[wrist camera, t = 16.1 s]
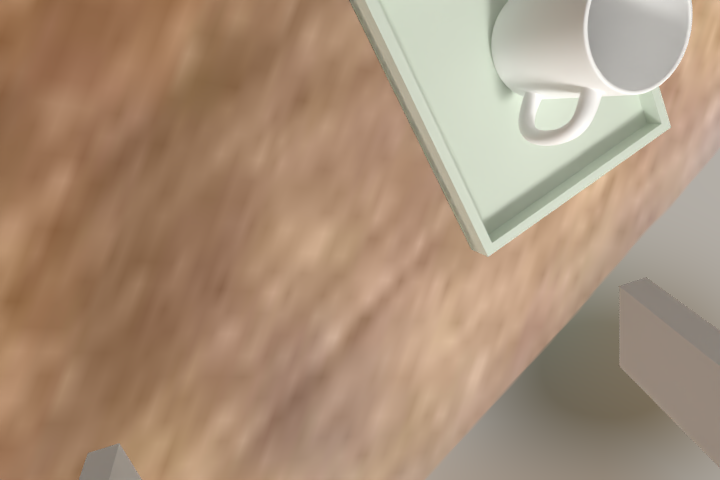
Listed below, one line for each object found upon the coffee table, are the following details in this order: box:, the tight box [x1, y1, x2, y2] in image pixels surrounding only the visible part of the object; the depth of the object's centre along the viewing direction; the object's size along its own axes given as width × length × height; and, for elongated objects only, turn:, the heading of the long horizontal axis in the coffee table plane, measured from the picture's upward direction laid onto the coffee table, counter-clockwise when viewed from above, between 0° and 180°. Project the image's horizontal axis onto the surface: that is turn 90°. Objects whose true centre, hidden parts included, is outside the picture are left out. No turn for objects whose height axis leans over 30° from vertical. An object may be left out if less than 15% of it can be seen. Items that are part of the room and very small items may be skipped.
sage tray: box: [349, 0, 671, 257], centre depth 41 cm, size 22×20×2 cm
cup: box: [491, 0, 692, 146], centre depth 37 cm, size 8×12×10 cm
